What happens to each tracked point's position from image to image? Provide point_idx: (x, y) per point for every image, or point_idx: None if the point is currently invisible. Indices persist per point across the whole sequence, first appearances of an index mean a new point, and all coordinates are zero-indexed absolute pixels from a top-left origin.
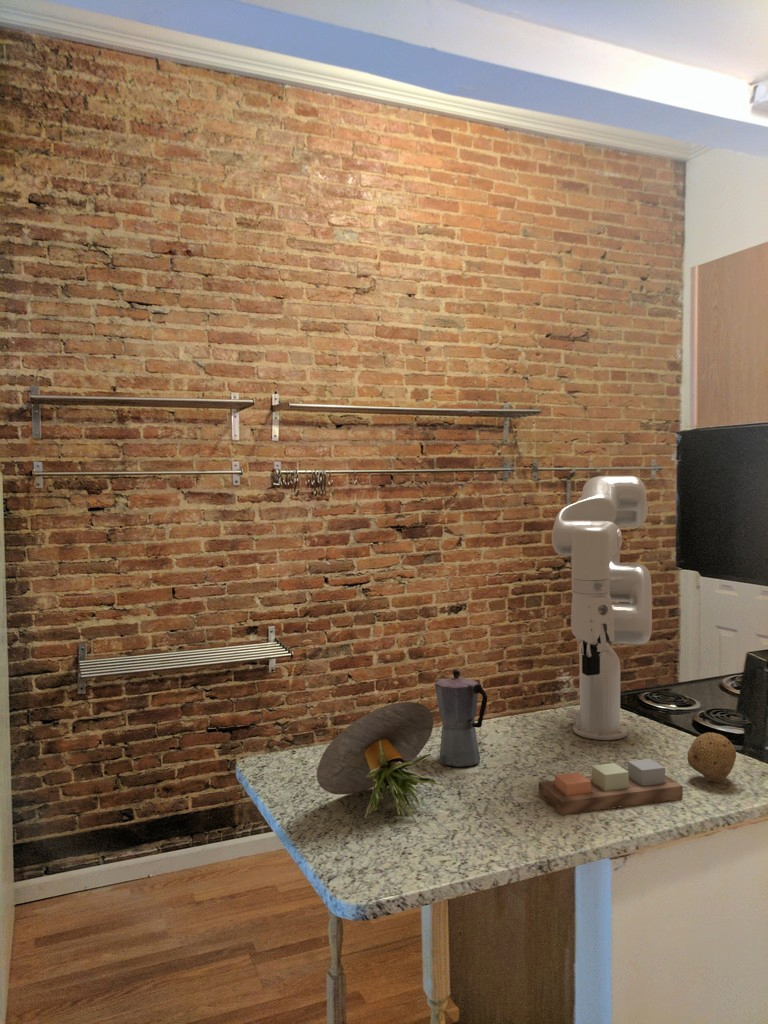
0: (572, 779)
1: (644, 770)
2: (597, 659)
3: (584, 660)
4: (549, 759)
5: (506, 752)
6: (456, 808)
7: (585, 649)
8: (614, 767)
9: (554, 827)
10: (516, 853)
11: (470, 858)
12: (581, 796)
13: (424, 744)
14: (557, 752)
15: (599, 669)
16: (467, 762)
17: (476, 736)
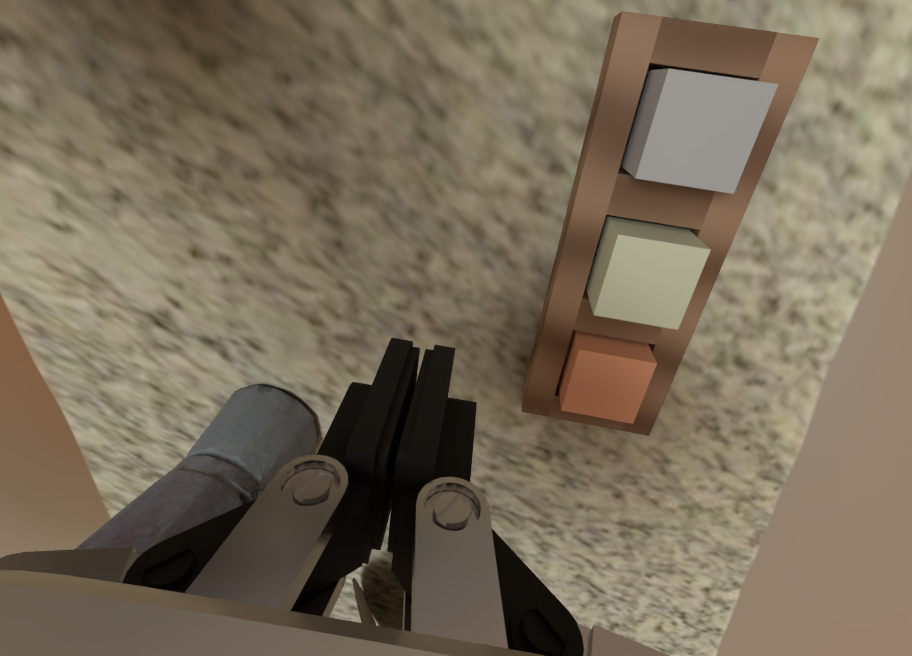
0: (613, 393)
1: (736, 184)
2: (467, 479)
3: (387, 517)
4: (319, 227)
5: (238, 300)
6: (500, 537)
7: (331, 591)
8: (650, 263)
9: (678, 458)
10: (713, 556)
11: (677, 604)
12: (654, 383)
13: (361, 617)
14: (269, 165)
15: (450, 368)
16: (313, 438)
17: (253, 438)
